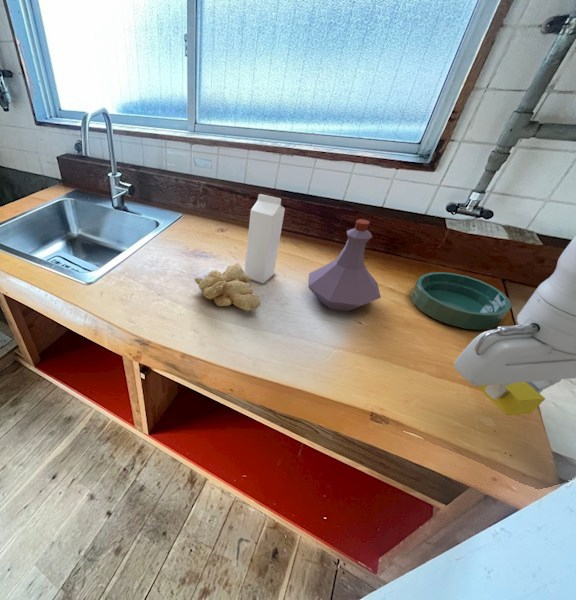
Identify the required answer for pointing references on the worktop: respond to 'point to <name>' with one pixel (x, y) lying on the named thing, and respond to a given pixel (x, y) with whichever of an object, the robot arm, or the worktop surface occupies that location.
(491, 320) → the bowl
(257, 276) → the milk
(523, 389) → the yellow block
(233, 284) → the ginger root
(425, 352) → the worktop surface
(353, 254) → the flask
